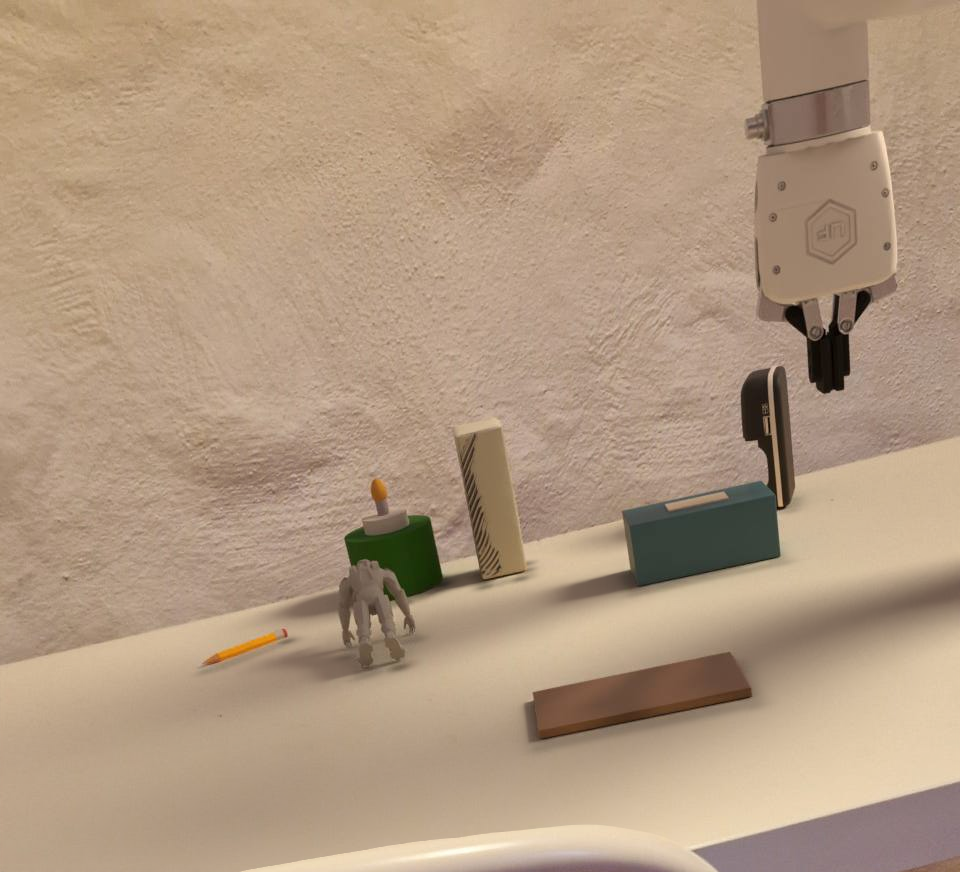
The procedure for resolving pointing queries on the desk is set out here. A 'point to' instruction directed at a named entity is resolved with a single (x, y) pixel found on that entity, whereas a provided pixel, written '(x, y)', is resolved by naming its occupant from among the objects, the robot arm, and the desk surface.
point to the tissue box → (702, 533)
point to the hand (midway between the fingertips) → (830, 389)
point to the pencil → (247, 646)
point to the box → (490, 497)
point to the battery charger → (770, 427)
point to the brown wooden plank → (639, 694)
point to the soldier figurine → (372, 608)
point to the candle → (397, 544)
